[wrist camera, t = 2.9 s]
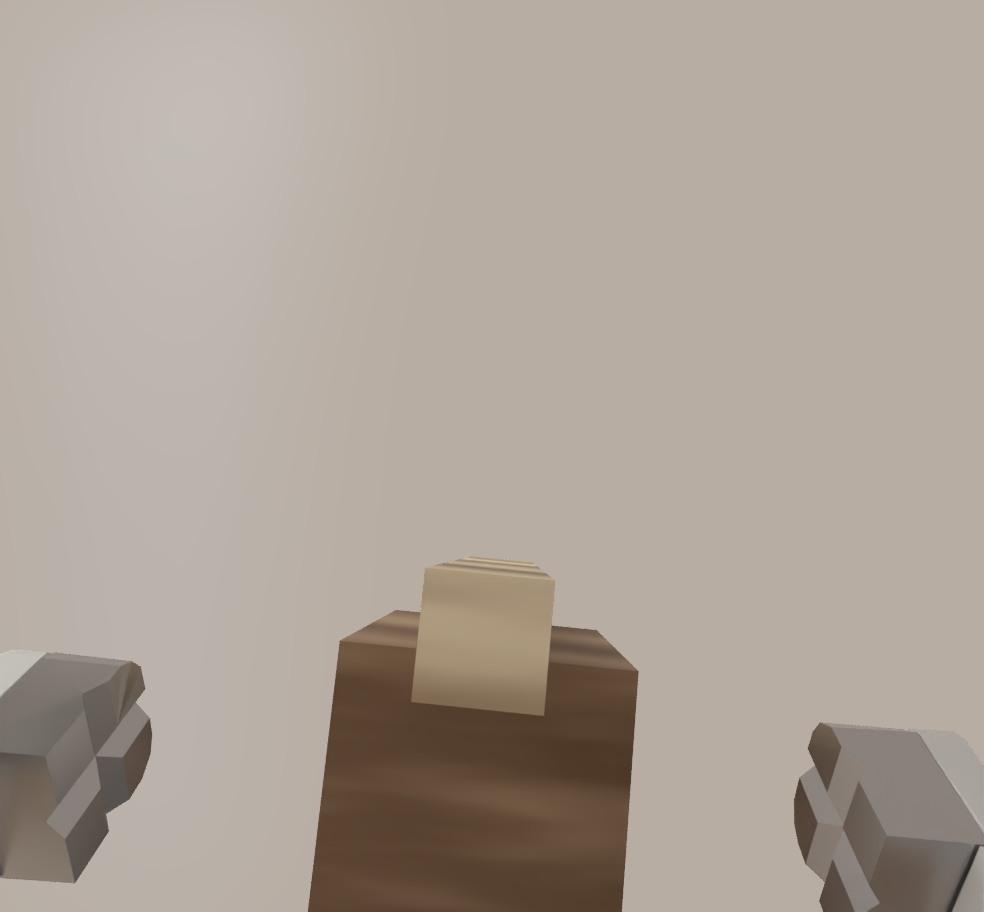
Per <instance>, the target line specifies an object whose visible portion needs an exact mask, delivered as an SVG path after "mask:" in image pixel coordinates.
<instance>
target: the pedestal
mask: <svg viewBox="0 0 984 912" xmlns="http://www.w3.org/2000/svg"><path fill="white" fill-rule="evenodd" d="M419 622H420V613H419V612H409V611H399V610H395V611H393V612H392V613H390V614H388V615H386V616H384V617H383V618H381V619H379V620H377V621H375V622H373V623H372V624H370V625H368V626H366V627H364V628H362V629H361V630H359V631H357V632H355V633H353V634H351V635H350V636H348V637H346V638H344V639H342V640H341V641H340V644H339V653H338V661H337V670H336V679H335V687H334V695H333V704H332V712H331V721H330V729H329V738H328V746H327V755H326V764H325V772H324V780H323V789H322V797H321V806H320V814H319V823H318V832H317V839H316V848H315V856H314V865H313V873H312V882H311V890H310V899H309V908H308V912H622V899H623V885H624V870H625V857H626V841H627V828H628V814H629V813H628V812H629V798H630V784H631V770H632V755H633V740H634V727H635V713H636V698H637V697H636V696H637V684H638V670H637V669H636V668H634V667H633V665H632V664H630V663H629V662H628V661H627V660H626V659H625V658H624V657H623V656H622V655H621V654H620V653H619V652H618V651H617V650H616V649H615V648H614V647H613V646H612V645H611V644H610V643H609V642H608V641H607V640H606V639H605V638H604V637H603V636H602V635H601V634H600V633H599V632H598V631H597V630H589V629H578V628H569V627H559V626H551V637H550V649H549V661H548V673H547V685H546V697H545V709H544V716H541V715H531V714H522V713H512V712H502V711H493V710H483V709H474V708H464V707H455V706H445V705H436V704H426V703H417V702H411V698H412V688H413V679H414V669H415V660H416V650H417V641H418V631H419Z"/></svg>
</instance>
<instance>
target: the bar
mask: <svg viewBox="0 0 984 912" xmlns="http://www.w3.org/2000/svg"><path fill="white" fill-rule="evenodd" d="M554 590H555V580H554V579H553V578H551V577H550V576H549V575H547V574H546V573H545V572H543V571H542V570H541V569H540V568H538V567H537V566H536V565H534V564H533V563H532V562H523V561H513V560H503V559H493V558H482V557H468V558H464V559H460V560H456V561H451V562H447V563H443V564H439V565H435V566H431V567H427V568H425V574H424V585H423V593H422V603H421V612H420V622H419V631H418V641H417V650H416V660H415V669H414V679H413V688H412V698H411V702H417V703H426V704H436V705H445V706H455V707H464V708H474V709H483V710H493V711H502V712H512V713H522V714H531V715H541V716H544V709H545V697H546V685H547V673H548V661H549V649H550V637H551V626H552V613H553V602H554Z"/></svg>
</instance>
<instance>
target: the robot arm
mask: <svg viewBox="0 0 984 912" xmlns="http://www.w3.org/2000/svg"><path fill="white" fill-rule="evenodd" d="M144 690H145V686H144V681H143V676H142V671H141V667H140V666H138V665H137V664H135V663H133V662H132V661H124V660H115V659H106V658H97V657H89V656H80V655H71V654H62V653H46V652H38V651H28V650H20V649H19V650H18V649H13V650H10V651H7V652H4V653H1V654H0V878H7V879H22V880H37V881H51V882H65V883H75V882H76V881H77V879H78V878H79V876H80V875H81V873H82V872H83V870H84V869H85V867H86V865H87V864H88V862H89V861H90V859H91V858H92V856H93V855H94V853H95V852H96V850H97V848H98V847H99V845H100V844H101V842H102V841H103V839H104V838H105V836H106V835H107V833H108V831H109V830H108V823H107V816H106V814H107V813H108V812H110V811H111V810H113V809H114V808H116V807H118V806H119V805H121V804H122V803H124V802H126V801H127V800H129V799H130V797H131V796H132V794H133V792H134V791H135V789H136V788H137V786H138V784H139V783H140V781H141V779H142V777H143V774H144V771H145V768H146V765H147V762H148V759H149V756H150V752H151V740H152V731H151V723H150V718H149V717H148V716H147V715H146V713H145V712H144V711H143V710H142V709H141V708H140V707H139V706H138V705H137V704H136V703H135V702H136V701H137V699H138V698H139V697H140V695H141V694H142V693H143V691H144ZM808 750H809V752H810V755H811V757H812V759H813V761H814V764H815V766H814V767H813V768H811V769H810V770H809V771H807V772H806V773H805V774H804V775H803V776H801V777H800V778H799V782H798V786H797V790H796V794H795V799H794V819H795V820H794V823H795V829H796V834H797V839H798V844H799V847H800V849H801V852H802V855H803V858H804V861H805V864H806V865H807V866H809V868H810V869H812V870H813V871H814V872H815V873H816V874H817V875H818V876H819V877H820V878H821V879H822V880H823V881H824V882H825V884H824V888H823V891H822V894H821V897H820V900H819V901H820V904H821V907H822V909H823V912H984V765H983V764H982V762H981V761H980V760H979V758H978V757H977V755H976V754H975V753H974V751H973V750H972V749H971V747H970V746H969V745H968V743H967V742H966V741H965V740H964V739H963V738H962V737H960V736H959V735H957V734H956V733H954V732H947V731H932V730H918V729H908V730H903V729H892V728H880V727H868V726H856V725H843V724H831V723H819V725H818V726H817V727H816V729H815V730H814V731H813V733H812V737H811V740H810V743H809V747H808Z"/></svg>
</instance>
